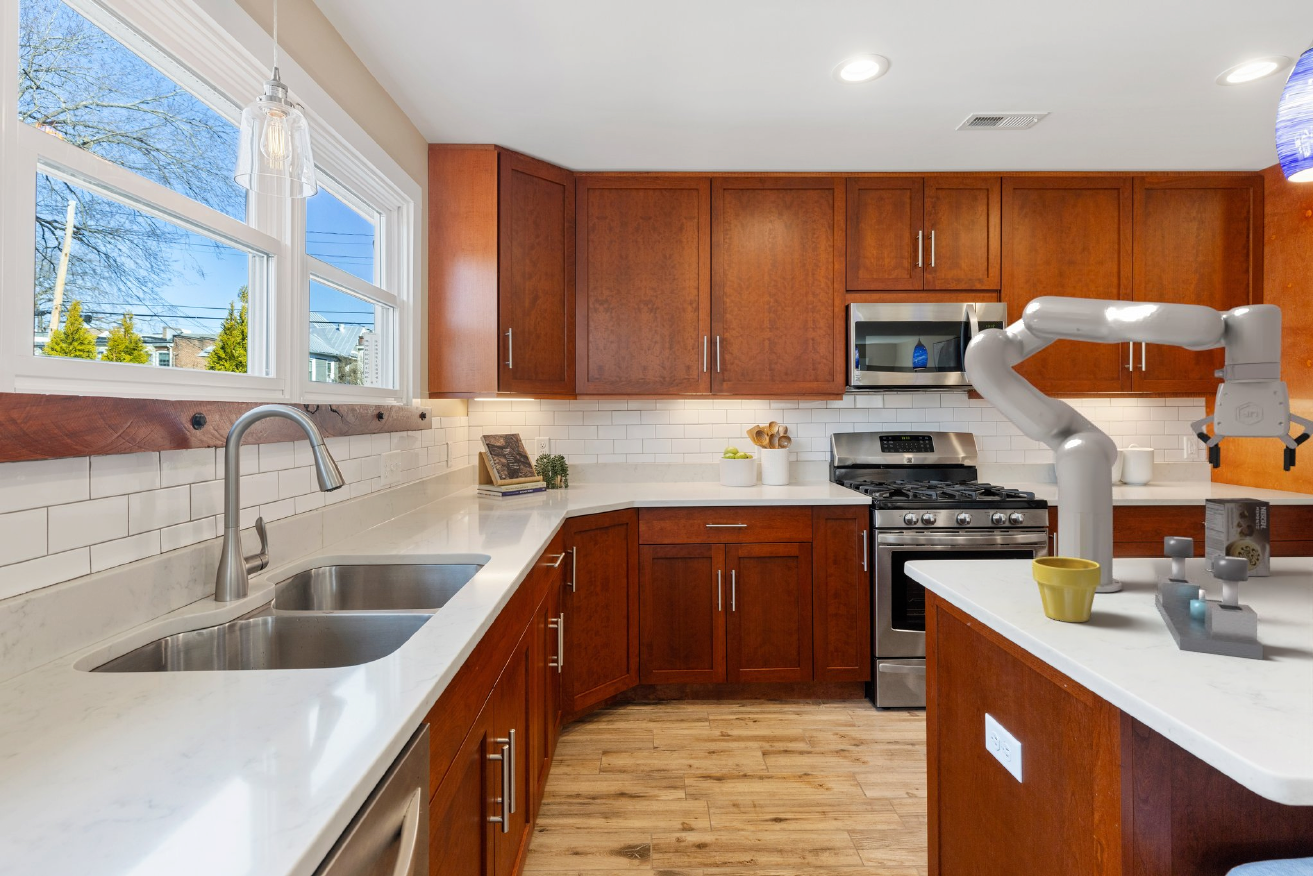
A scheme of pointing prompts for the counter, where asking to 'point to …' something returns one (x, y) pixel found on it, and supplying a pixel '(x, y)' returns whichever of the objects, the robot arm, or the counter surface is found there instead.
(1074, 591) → the plant pot
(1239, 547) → the coffee box
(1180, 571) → the knob far
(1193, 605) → the potentiometer
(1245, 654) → the mount
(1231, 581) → the knob near
